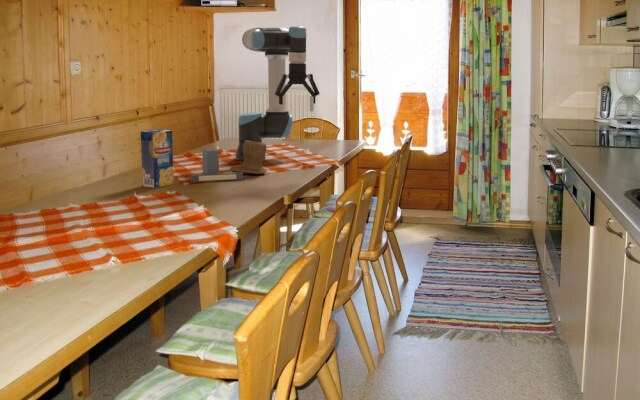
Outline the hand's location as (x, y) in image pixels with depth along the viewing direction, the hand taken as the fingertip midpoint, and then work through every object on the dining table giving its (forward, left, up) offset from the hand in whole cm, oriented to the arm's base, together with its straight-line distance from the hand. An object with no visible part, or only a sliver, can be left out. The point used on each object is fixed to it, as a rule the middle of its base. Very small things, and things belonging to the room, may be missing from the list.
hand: (297, 111), depth 342 cm
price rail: (+8, -39, -28) cm, 48 cm away
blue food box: (+10, -64, -28) cm, 70 cm away
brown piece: (-6, -20, -28) cm, 35 cm away
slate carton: (-3, -39, -28) cm, 48 cm away
